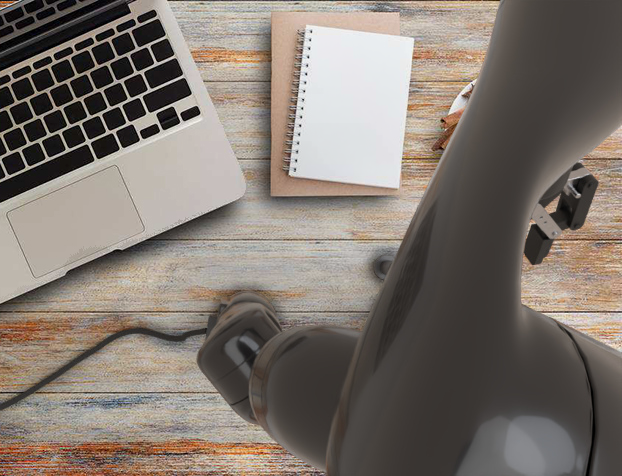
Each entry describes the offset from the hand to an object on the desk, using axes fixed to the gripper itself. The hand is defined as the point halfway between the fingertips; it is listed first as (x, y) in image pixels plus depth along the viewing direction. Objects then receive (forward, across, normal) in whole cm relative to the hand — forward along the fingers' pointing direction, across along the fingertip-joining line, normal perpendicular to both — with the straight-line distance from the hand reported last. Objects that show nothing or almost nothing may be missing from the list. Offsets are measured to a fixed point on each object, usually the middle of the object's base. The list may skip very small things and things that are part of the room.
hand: (488, 266), depth 53 cm
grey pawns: (+27, 0, +22) cm, 35 cm away
